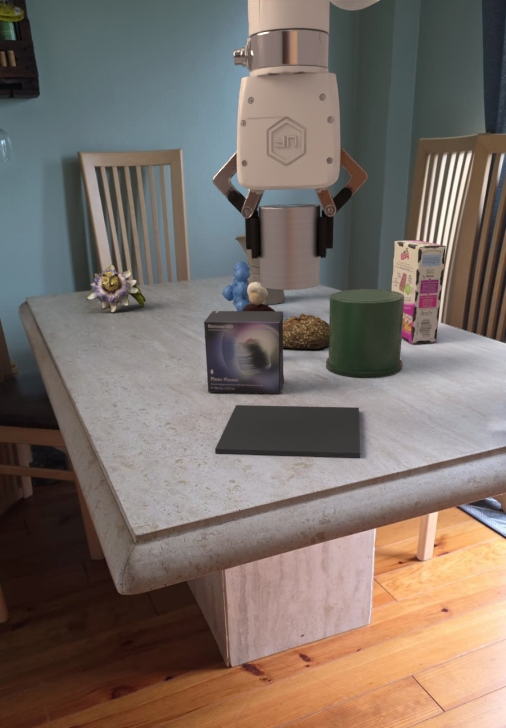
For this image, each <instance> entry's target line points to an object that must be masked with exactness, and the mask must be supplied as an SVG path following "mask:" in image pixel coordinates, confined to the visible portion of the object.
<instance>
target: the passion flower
mask: <svg viewBox="0 0 506 728" xmlns="http://www.w3.org/2000/svg"><path fill="white" fill-rule="evenodd" d="M131 274H132V271H131V270H130V269H128V270H126V271H123V272H119V271H116V268H115V266H114V265H113V264H109V265H108V267H107V268H105V269H104V270H102V272H99V273H94V277H93V276H92V275H91V276H90V279H91V281H92V283H90V287H92V292H90V293H89V294H88V295H87V296H86V300H87V301H94V300H96V299H98V300H99V302H100V309H101V310H102V311H103V310H106V309H109V310H110V313H111V312H114V313H116V311H117V309H118V306H117V305H118V304H120V305H122V306H124V307H128V306H129V304H130V301H129V295H130V296H131V297H132V298H133V299H134V300H136V302H137V303H138V305H139V306H140V307H141V308H144V307H145V303H146V301H147V299H146V297H145V296H144V295H143V294H142V291H141V288H139V286H137V280H136V279H129V278H130V276H131Z"/></svg>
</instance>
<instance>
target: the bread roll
mask: <svg viewBox="0 0 506 728" xmlns="http://www.w3.org/2000/svg"><path fill="white" fill-rule="evenodd" d="M326 347H329V323H328V322H327V321H326V320H324V319H322V318H320V317H318V316H315V315H311V314H305V313H300V314H299V316H298V317H297V316H295V315H293V316H292V317H289V318H286V319H284V320H283V349H297V350H320V349H324V348H326Z"/></svg>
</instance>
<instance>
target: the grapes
mask: <svg viewBox="0 0 506 728" xmlns="http://www.w3.org/2000/svg"><path fill="white" fill-rule="evenodd" d="M250 270H251V267H250V266H249V265H248V263H247V262H245V261H243V260H239V261H237V263H236V264H235V266H234V267H233V271H234V273H233V275H232V276H233V277H234V278H233V280H232V281H231V284H228V285H226V286H225V287H224V288H223V290H222V291H221V295H222V296H223V298H224V299H225V300H226V301H228V302H232V301H233V302H232V304H233V306H234V308H235V309H236V311H242V310H243V308H244V307H245V306H246V305H248V304H250V303H251V302H250V300H249V296H248V293H247V289H248V286H249V283H248V282H249V276H250V274H251V272H250Z"/></svg>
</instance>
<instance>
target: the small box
mask: <svg viewBox="0 0 506 728" xmlns="http://www.w3.org/2000/svg"><path fill="white" fill-rule="evenodd" d="M283 322H284V311H282V310H275V311H237V310H212V311H211V312H210V313H209V315H208V316H207V317H206V318H205V319H204V321H203V330H204V342H205V343H204V344H205V359H206V363H205V364H206V376H207V377H206V379H207V381H206V382H207V392H208V393H225V394H226V393H227V394H228V393H229V394H230V393H232V394H266V395H267V394H268V395H280V394H281V392H282V389H283V385H284V382H285V376H284V348H283Z"/></svg>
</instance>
